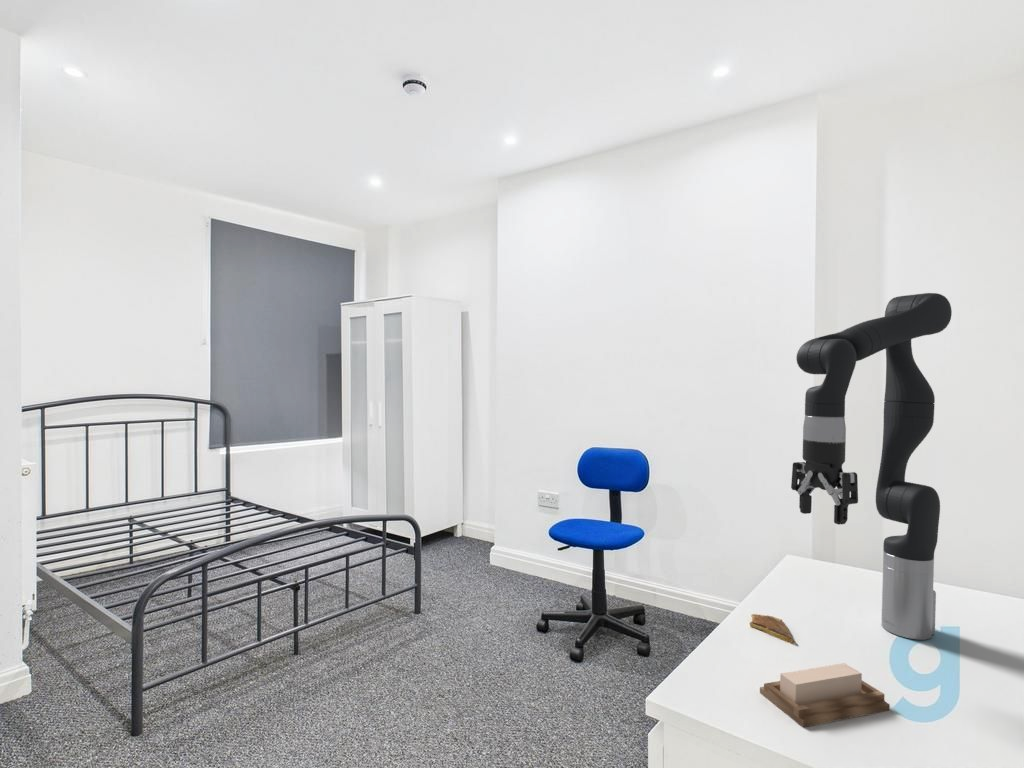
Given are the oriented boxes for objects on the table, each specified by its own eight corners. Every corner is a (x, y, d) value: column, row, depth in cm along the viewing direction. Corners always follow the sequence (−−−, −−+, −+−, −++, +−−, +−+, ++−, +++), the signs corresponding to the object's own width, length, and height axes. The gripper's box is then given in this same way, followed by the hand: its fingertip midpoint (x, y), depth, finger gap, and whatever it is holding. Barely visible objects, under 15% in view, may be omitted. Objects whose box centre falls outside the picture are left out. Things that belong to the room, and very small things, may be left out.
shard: (793, 646, 117) (794, 638, 117) (755, 642, 119) (755, 634, 119) (781, 624, 128) (782, 616, 128) (746, 620, 129) (746, 612, 129)
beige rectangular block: (844, 684, 100) (844, 663, 100) (861, 695, 97) (861, 673, 97) (779, 696, 96) (780, 673, 96) (795, 708, 93) (795, 684, 93)
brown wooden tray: (840, 678, 104) (840, 667, 104) (889, 710, 94) (889, 697, 94) (759, 692, 99) (760, 680, 99) (803, 727, 90) (803, 713, 90)
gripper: (870, 442, 106) (868, 526, 106) (811, 434, 119) (809, 508, 120) (838, 443, 104) (836, 529, 104) (782, 434, 117) (780, 510, 118)
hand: (822, 518), depth 112 cm, fingers open, 8 cm apart
